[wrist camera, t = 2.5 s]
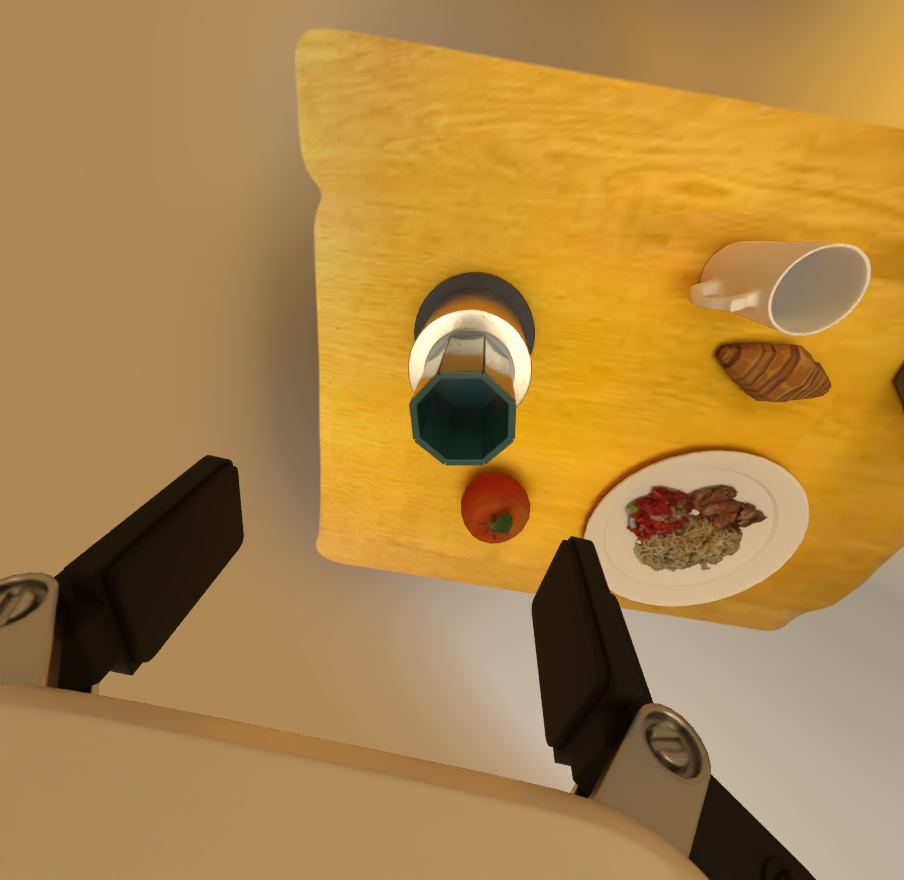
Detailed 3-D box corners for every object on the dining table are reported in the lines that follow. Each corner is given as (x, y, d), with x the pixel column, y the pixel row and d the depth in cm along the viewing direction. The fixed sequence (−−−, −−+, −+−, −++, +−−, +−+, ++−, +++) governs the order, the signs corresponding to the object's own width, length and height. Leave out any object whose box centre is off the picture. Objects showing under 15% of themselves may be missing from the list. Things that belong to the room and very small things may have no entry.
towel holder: (473, 242, 40) (466, 249, 28) (558, 334, 44) (584, 375, 32) (392, 337, 46) (358, 376, 34) (474, 411, 50) (470, 469, 38)
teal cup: (467, 316, 31) (459, 348, 23) (526, 374, 32) (537, 421, 25) (413, 376, 33) (390, 422, 26) (470, 425, 35) (465, 482, 28)
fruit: (451, 498, 57) (444, 546, 49) (481, 451, 53) (480, 495, 44) (505, 522, 59) (508, 574, 50) (539, 479, 54) (549, 527, 46)
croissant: (695, 375, 45) (717, 391, 41) (733, 320, 42) (762, 331, 37) (794, 410, 46) (825, 429, 42) (839, 359, 43) (878, 375, 38)
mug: (773, 229, 37) (883, 232, 27) (763, 299, 40) (858, 325, 30) (664, 256, 39) (727, 268, 29) (662, 321, 42) (719, 352, 32)
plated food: (732, 609, 64) (744, 627, 61) (558, 580, 64) (561, 597, 61) (849, 464, 49) (872, 479, 46) (621, 427, 49) (629, 440, 46)
